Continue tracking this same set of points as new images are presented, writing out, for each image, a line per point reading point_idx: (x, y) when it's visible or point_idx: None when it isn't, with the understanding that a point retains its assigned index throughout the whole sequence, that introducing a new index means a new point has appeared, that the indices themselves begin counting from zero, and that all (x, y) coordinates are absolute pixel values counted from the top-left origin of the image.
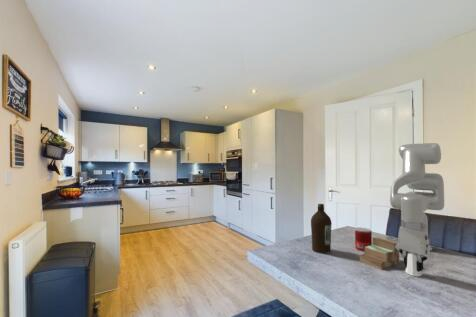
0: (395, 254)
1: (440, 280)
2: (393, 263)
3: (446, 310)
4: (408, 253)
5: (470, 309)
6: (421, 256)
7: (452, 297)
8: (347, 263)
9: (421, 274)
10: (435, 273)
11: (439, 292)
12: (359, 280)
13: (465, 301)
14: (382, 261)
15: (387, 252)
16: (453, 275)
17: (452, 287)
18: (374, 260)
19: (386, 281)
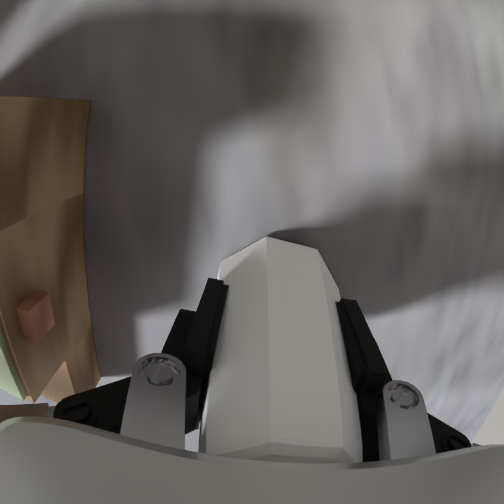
0: (14, 195)
1: (452, 253)
2: (75, 219)
3: None
4: None
5: (473, 436)
6: (400, 449)
7: (453, 415)
8: (7, 392)
9: (339, 293)
10: (417, 103)
11: None
12: None
13: (484, 404)
14: (65, 387)
15: (7, 369)
16: (500, 54)
17: (489, 312)
18: (40, 394)
19: None
